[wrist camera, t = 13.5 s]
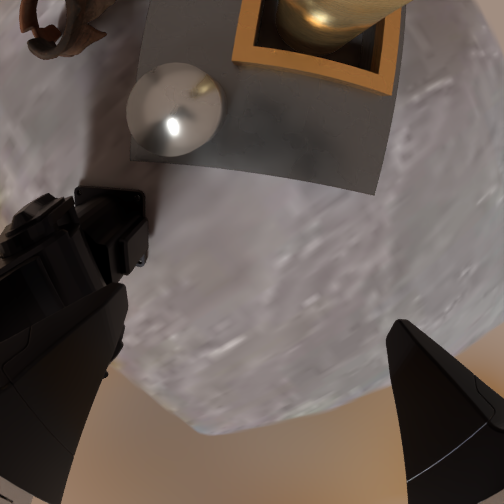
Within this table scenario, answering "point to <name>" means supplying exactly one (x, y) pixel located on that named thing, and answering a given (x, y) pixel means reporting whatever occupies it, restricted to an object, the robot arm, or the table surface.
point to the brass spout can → (328, 22)
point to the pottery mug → (76, 31)
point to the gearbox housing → (261, 97)
